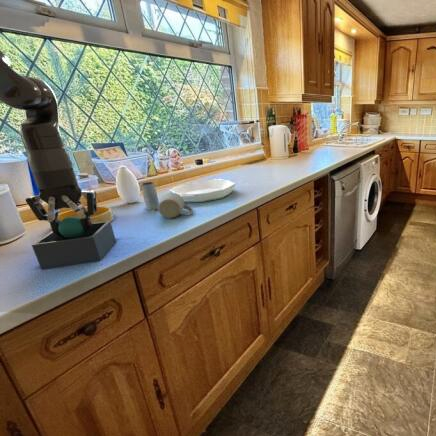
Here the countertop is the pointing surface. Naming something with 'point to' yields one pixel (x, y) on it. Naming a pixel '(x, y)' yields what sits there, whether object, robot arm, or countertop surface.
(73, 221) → the toy ball
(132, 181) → the sauce bottle
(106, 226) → the bin
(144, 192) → the grey cylinder
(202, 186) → the white oval serving dish
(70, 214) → the bowl
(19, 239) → the countertop surface
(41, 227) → the countertop surface
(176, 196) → the ceramic mug
